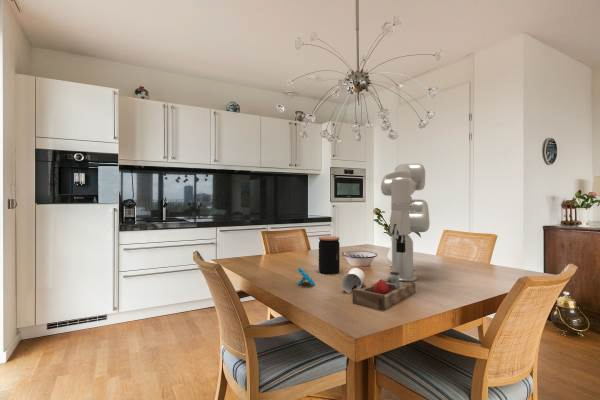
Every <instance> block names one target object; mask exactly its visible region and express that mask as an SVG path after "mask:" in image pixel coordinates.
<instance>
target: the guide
mask: <svg viewBox="0 0 600 400" xmlns="http://www.w3.org/2000/svg"><path fill="white" fill-rule="evenodd" d="M383 281H384V282H386V283H391V279H390V278H389V277H387V278H385V279H383ZM376 283H377V282H375V283H373V284H370V285H368V286H365V287H363V288H362V287H361V289H360V290H359V289H356V288H353V289H352V291H353V293H352V304H354V305H358V306H362V307H365V308H369V309H375V310H379V311H382V312H383V311H384V310H386V309H388V308H390V307H392V306H394V305H395V304H397V303H399V302H401V301H403V300H404V299H406V298H408V297H410V296H412V295H414V294H416V282H414V281H410V282H409V283H407V284H406V283H405V285H404V286H402V287H400V288H398V289H396V290H394V291H391V292H389V293H387V294H385V295H384V294H379V293H374V291H373V288H374V285H375V284H376Z"/></svg>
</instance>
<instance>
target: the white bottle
mask: <svg viewBox="0 0 600 400" xmlns="http://www.w3.org/2000/svg"><path fill="white" fill-rule="evenodd" d="M365 279H366V275H365V273H364V272H363V270H362V269H360V268H359V267H358V268H357V267H353V268H351V269H350V270H349V271H347V274H345V275H344V276H343V278H342V279H341V282H340V284H341V287H342V289H343V290H344V292H346V293H348V294H353V289H354V287H355V286H356V287H355V289H359V290H360V289H362V287H363V283H364V282H365ZM352 288H353V289H352ZM350 290H351V292H350Z"/></svg>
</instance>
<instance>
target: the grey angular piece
mask: <svg viewBox="0 0 600 400" xmlns="http://www.w3.org/2000/svg"><path fill="white" fill-rule="evenodd" d="M390 274H391V283H386V282H385V283H386V284H387V285H388V287H389V292H391V291H394V290H396V289H398V288H400V287H402V286H404V285H406V283H402V282H400V281H399V275H400V273H399V272H392V271H390V272H389V275H390Z"/></svg>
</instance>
